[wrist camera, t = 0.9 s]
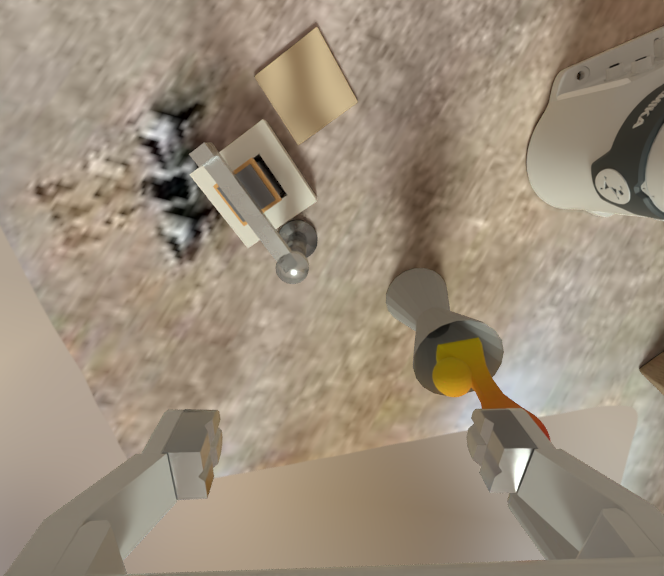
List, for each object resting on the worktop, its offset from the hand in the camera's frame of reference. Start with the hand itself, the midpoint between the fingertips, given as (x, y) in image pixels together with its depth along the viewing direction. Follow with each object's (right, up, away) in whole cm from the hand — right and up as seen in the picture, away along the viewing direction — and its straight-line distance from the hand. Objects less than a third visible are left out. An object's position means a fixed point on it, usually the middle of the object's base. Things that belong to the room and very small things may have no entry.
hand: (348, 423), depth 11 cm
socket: (-9, +17, +29) cm, 35 cm away
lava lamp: (+11, +3, +36) cm, 38 cm away
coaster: (-3, +26, +26) cm, 37 cm away
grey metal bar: (-8, +11, +21) cm, 25 cm away
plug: (-9, +17, +29) cm, 35 cm away
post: (-5, +11, +32) cm, 34 cm away
